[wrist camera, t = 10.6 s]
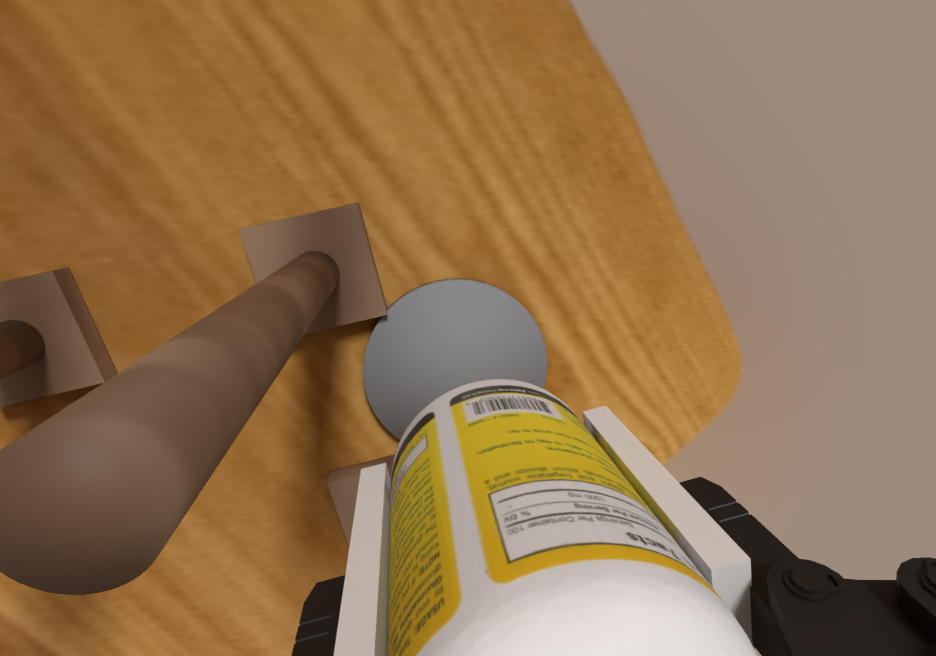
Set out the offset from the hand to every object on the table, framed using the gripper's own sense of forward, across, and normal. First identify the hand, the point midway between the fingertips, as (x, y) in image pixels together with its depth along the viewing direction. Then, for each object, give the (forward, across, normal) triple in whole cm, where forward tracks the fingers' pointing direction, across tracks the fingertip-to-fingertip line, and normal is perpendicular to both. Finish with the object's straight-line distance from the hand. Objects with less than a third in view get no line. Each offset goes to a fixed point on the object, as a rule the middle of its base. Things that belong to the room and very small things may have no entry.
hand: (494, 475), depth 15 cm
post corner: (+10, -5, +6) cm, 12 cm away
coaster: (+10, 0, 0) cm, 10 cm away
